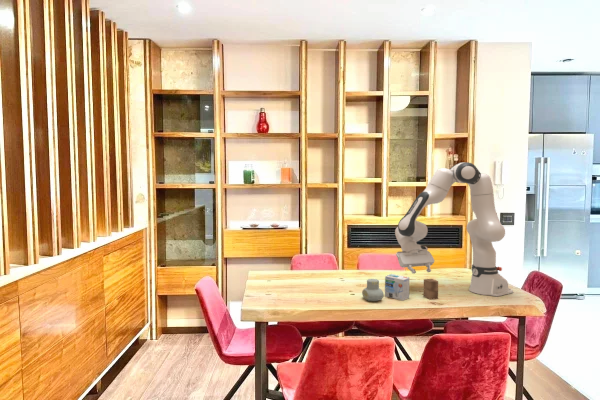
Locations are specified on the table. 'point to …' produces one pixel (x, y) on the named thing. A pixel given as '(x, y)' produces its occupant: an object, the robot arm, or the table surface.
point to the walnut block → (430, 289)
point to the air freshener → (372, 291)
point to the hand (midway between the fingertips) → (422, 272)
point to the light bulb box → (397, 287)
